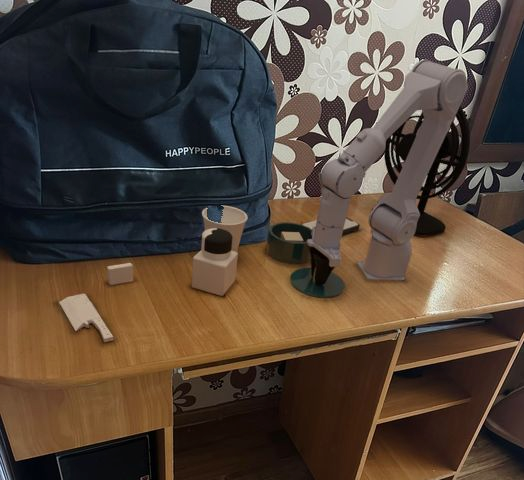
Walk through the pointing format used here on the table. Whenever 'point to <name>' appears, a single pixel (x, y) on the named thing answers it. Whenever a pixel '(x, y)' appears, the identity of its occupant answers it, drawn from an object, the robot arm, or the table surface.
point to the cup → (228, 223)
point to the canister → (288, 244)
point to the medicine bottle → (215, 262)
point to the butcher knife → (84, 315)
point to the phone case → (348, 225)
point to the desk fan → (448, 149)
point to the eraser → (120, 273)
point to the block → (291, 236)
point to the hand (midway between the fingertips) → (317, 279)
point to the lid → (307, 284)
